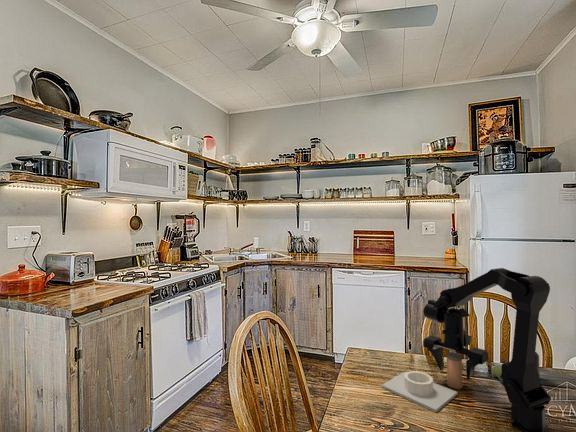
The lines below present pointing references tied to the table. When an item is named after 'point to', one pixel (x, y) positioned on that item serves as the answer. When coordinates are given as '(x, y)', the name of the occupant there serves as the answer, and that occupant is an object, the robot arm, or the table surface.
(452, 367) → the plug
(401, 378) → the plate with ring collar
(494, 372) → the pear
